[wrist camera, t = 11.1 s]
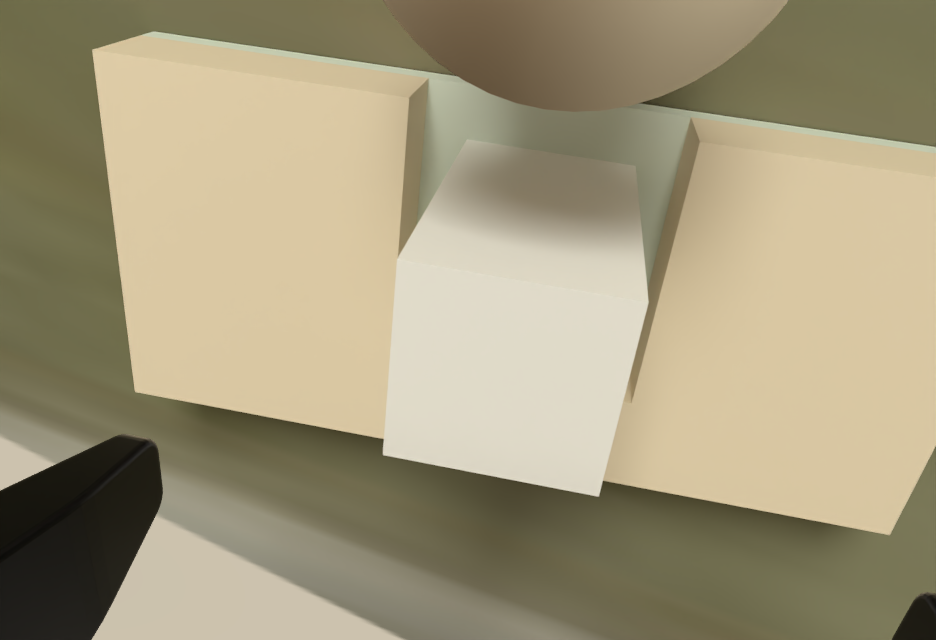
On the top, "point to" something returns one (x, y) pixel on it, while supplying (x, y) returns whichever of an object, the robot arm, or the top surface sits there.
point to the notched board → (665, 252)
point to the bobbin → (582, 45)
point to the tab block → (518, 318)
